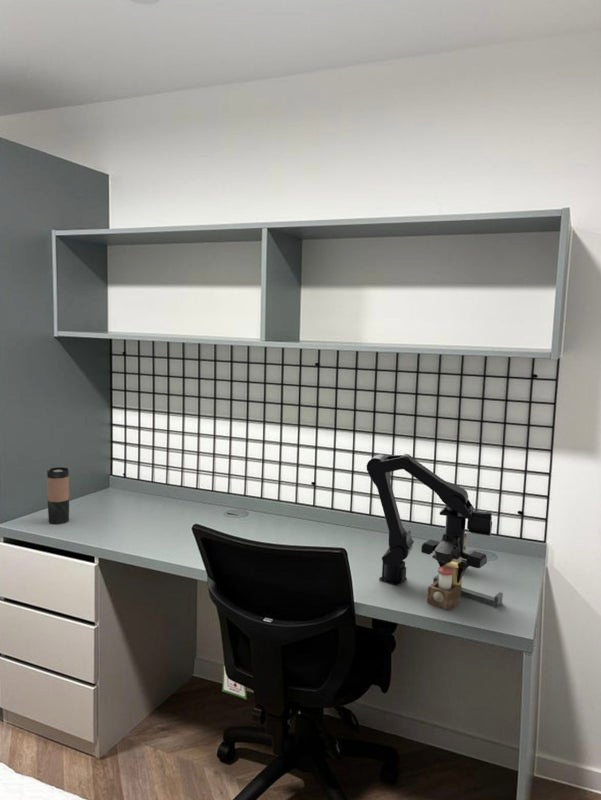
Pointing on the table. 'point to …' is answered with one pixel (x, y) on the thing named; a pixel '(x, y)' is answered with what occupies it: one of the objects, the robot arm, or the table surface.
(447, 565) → the block
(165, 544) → the table surface
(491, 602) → the rail
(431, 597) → the brown wooden box
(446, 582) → the plunger
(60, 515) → the travel mug
